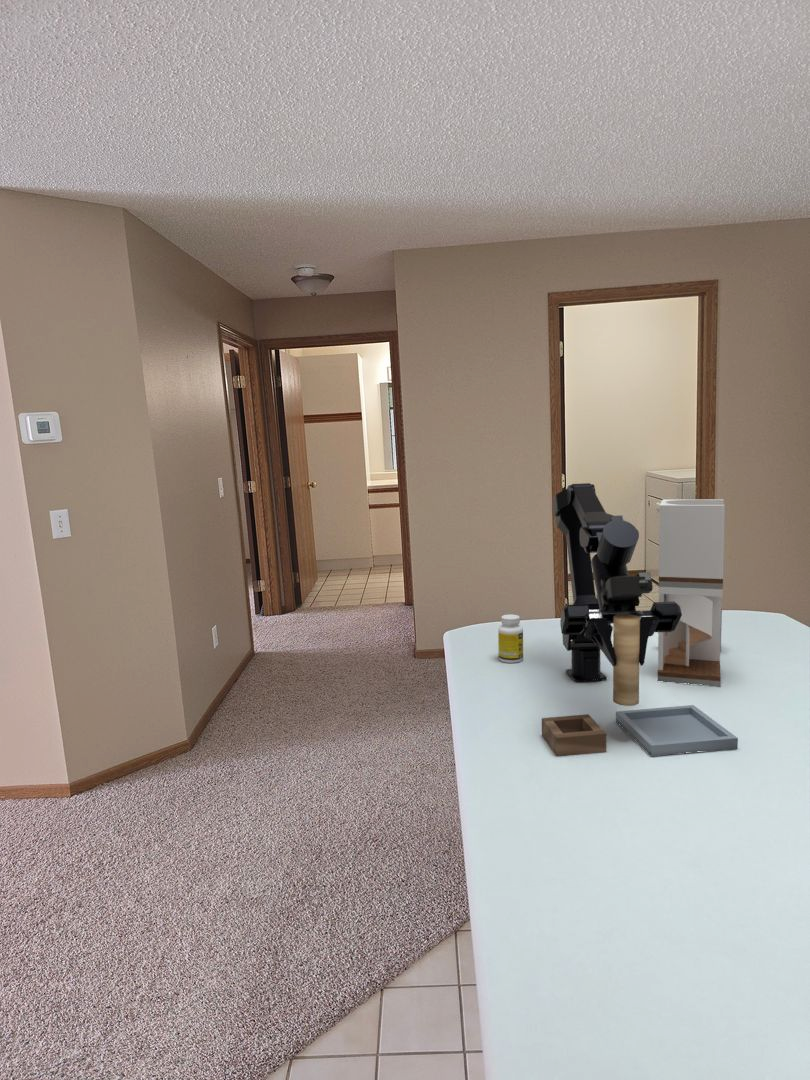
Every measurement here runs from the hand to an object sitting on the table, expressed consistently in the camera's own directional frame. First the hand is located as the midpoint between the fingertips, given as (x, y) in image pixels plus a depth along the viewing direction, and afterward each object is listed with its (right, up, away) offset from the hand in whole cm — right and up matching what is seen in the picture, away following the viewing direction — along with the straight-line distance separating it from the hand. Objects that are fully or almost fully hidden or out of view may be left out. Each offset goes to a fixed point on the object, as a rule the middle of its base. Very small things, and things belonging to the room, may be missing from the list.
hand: (628, 664), depth 117 cm
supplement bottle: (-12, -7, +46) cm, 48 cm away
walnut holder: (-8, -13, +2) cm, 16 cm away
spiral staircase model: (+22, -8, +31) cm, 39 cm away
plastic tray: (+9, -12, +4) cm, 15 cm away
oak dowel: (0, -6, +2) cm, 7 cm away
